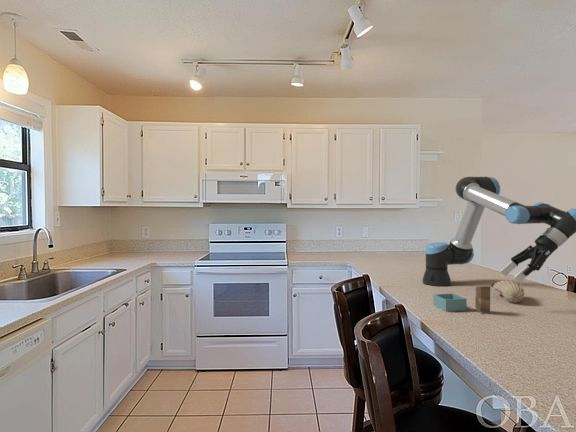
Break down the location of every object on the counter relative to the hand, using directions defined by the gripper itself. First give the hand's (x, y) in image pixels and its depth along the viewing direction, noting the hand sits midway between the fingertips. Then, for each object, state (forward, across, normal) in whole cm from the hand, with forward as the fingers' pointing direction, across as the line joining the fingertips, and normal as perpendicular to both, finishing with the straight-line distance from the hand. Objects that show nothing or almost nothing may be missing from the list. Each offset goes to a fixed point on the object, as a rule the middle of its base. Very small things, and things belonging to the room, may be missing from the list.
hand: (509, 276), depth 146 cm
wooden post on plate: (+18, 0, +4) cm, 18 cm away
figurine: (+4, -28, +18) cm, 34 cm away
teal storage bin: (+26, -4, -5) cm, 27 cm away
